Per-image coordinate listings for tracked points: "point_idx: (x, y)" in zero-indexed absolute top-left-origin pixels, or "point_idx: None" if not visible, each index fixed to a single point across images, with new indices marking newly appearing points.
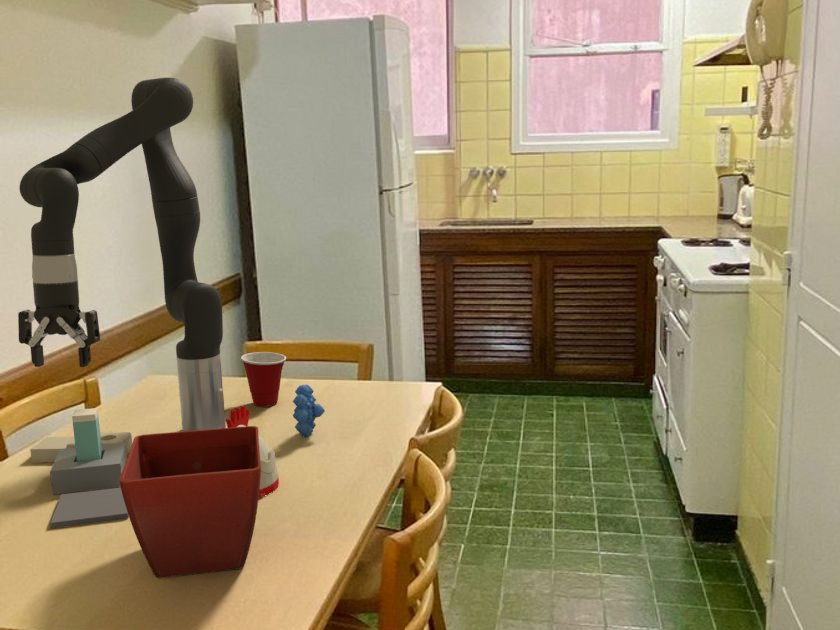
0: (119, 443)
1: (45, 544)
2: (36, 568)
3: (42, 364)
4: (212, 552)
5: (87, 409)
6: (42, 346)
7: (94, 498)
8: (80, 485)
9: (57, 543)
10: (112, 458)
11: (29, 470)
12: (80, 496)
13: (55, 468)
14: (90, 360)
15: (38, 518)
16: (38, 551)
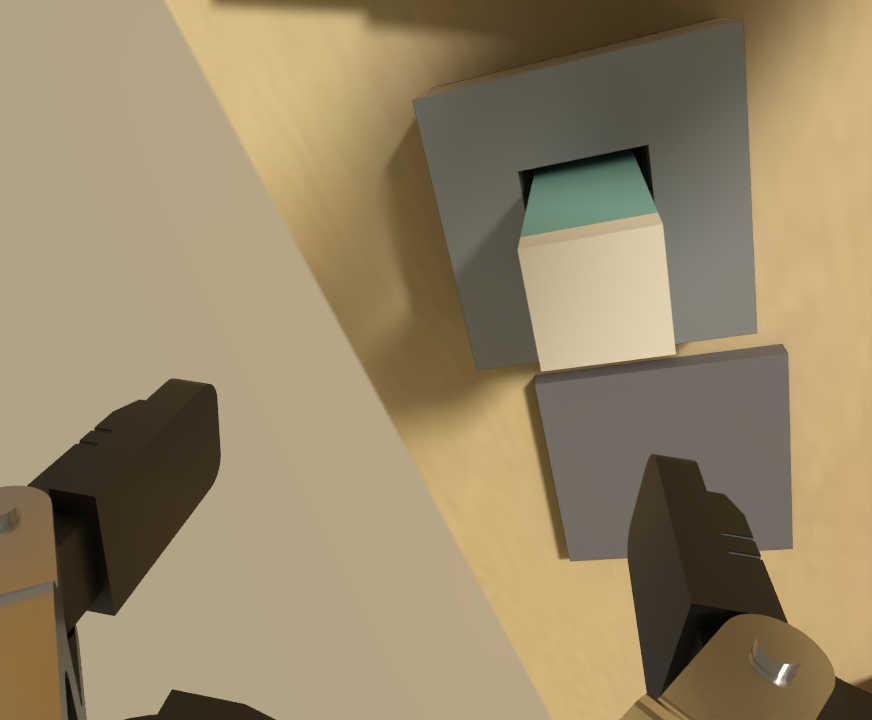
0: (710, 41)
1: (584, 619)
2: (601, 704)
3: (213, 408)
4: None
5: (599, 249)
6: (103, 491)
7: (660, 432)
8: None
9: (613, 620)
10: (709, 266)
11: (286, 65)
12: (606, 410)
13: (486, 345)
14: (738, 518)
15: (509, 486)
16: (579, 644)
